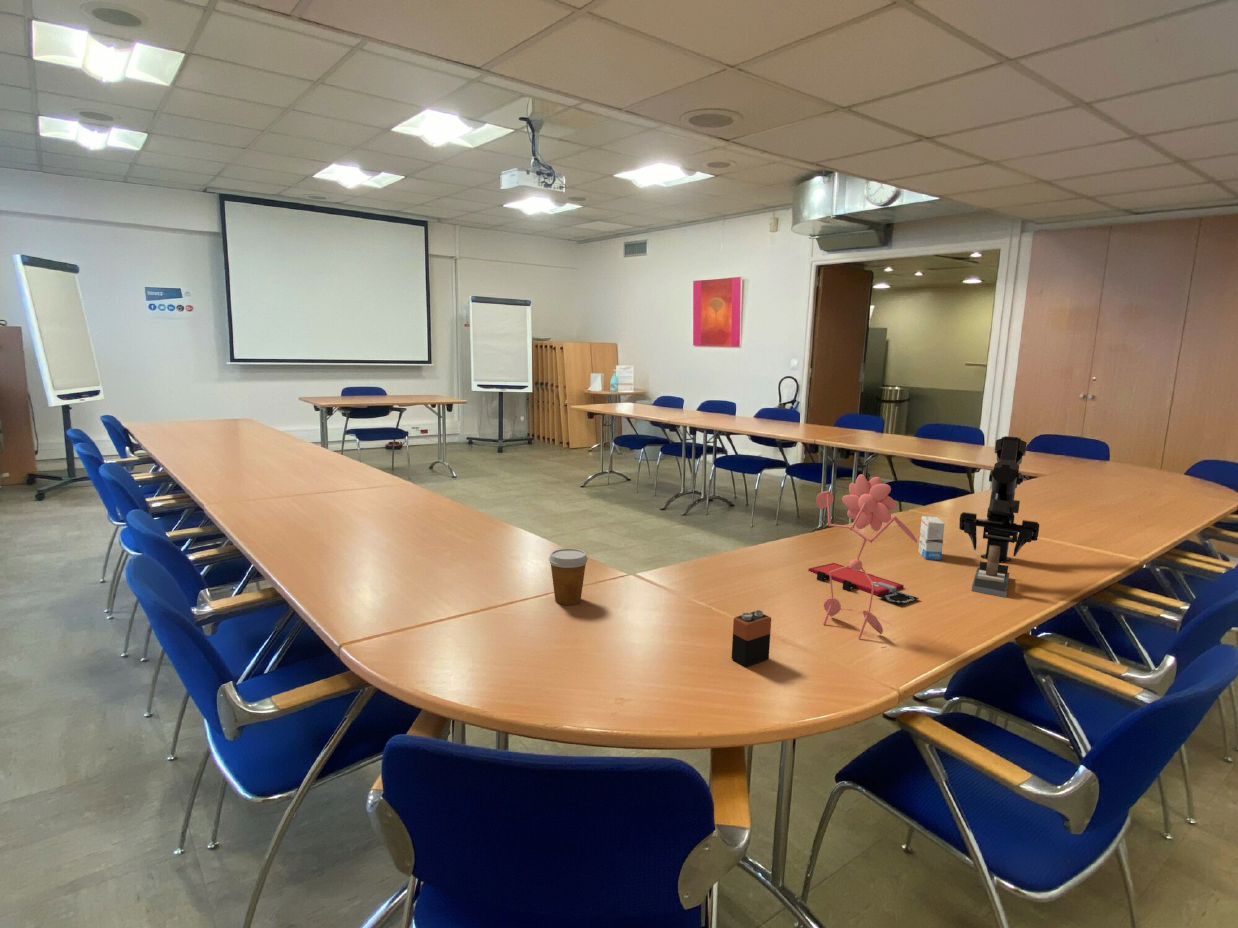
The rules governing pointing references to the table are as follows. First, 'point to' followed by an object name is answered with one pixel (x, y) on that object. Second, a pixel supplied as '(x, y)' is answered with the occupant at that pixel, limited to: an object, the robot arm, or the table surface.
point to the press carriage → (992, 566)
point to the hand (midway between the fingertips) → (994, 552)
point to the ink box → (931, 538)
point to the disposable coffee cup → (568, 574)
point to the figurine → (865, 508)
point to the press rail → (991, 582)
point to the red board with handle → (862, 582)
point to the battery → (751, 638)
